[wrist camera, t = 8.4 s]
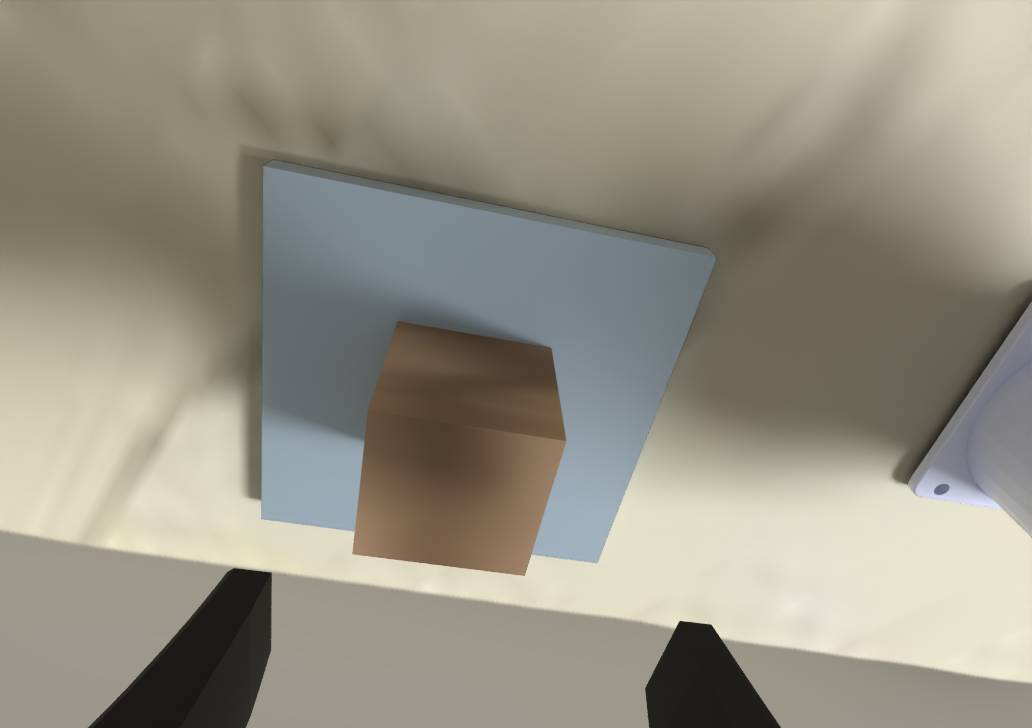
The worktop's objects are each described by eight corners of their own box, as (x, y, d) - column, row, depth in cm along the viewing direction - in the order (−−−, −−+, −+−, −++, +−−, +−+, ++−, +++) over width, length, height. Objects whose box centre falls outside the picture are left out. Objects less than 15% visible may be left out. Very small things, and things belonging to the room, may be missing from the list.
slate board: (708, 248, 17) (717, 257, 16) (594, 546, 23) (597, 563, 22) (273, 159, 16) (263, 166, 15) (269, 502, 21) (261, 518, 21)
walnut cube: (551, 347, 18) (566, 441, 14) (519, 466, 20) (524, 575, 16) (397, 321, 17) (367, 410, 13) (381, 445, 19) (352, 554, 15)
